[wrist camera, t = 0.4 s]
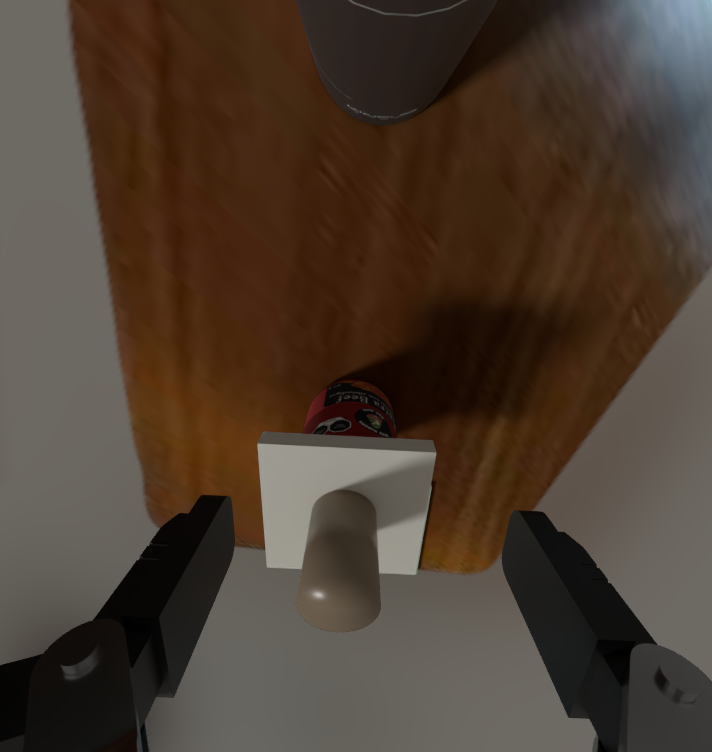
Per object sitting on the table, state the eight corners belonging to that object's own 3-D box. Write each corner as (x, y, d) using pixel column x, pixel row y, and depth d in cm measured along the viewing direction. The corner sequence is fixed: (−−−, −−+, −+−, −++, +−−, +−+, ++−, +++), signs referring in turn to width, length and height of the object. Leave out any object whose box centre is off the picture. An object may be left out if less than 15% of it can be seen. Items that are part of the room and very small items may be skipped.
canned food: (409, 401, 32) (430, 484, 22) (363, 462, 35) (363, 559, 25) (335, 360, 31) (323, 429, 21) (294, 427, 34) (265, 516, 24)
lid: (262, 431, 21) (220, 522, 15) (432, 440, 21) (462, 534, 15) (271, 551, 25) (241, 662, 19) (412, 558, 25) (429, 671, 19)
